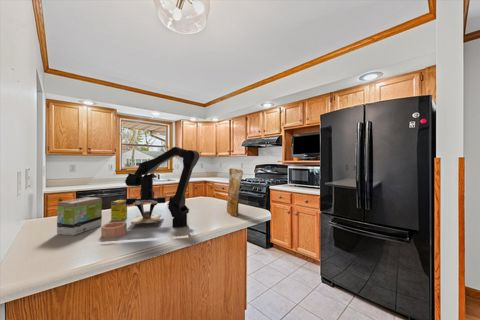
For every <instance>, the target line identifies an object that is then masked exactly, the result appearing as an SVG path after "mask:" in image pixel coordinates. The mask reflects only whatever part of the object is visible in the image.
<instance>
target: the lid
mask: <svg viewBox="0 0 480 320" xmlns="http://www.w3.org/2000/svg"><path fill="white" fill-rule="evenodd" d="M161 217H162V214H152V215H151V217H150V210H144V213H143V217H142V215H141V214H140V215H136V216H135V217H134V219H132V220H131V221H130V225H131V224H136V223H152V222H158V220H159V219H161Z"/></svg>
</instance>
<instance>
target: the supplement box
mask: <svg viewBox="0 0 480 320" xmlns="http://www.w3.org/2000/svg"><path fill="white" fill-rule="evenodd" d="M125 201H126V199H123V200H122V199H117V200H114V201H110V215H111V216H110V221H123V220H125V219H127V218H128V205H126V202H125Z"/></svg>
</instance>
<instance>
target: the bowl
mask: <svg viewBox="0 0 480 320" xmlns="http://www.w3.org/2000/svg"><path fill="white" fill-rule="evenodd" d="M127 226H128V224H127V222H125V221H117V222H116V221H114V222H109V223H104V224H103V225H101V226H100V227H101V228H100V229H101V230H100V231H101V234H100V236H101V238H104V239H112V238H118V237H120V236H121V237H122V236H124V235H125V234H126V233H127V231H128V227H127Z"/></svg>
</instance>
